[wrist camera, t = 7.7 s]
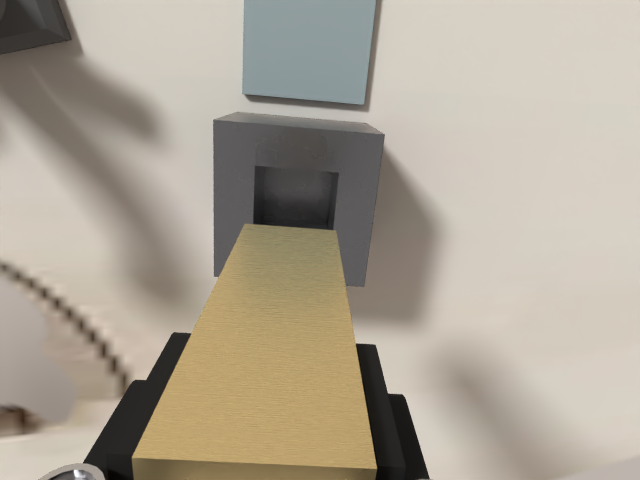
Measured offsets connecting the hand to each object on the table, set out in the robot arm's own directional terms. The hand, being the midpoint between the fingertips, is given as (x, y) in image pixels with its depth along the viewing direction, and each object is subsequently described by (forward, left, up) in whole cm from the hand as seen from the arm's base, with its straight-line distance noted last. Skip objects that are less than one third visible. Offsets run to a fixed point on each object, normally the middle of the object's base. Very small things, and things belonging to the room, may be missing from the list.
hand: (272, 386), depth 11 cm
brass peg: (0, 0, -8) cm, 8 cm away
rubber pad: (0, -12, -27) cm, 29 cm away
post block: (0, 0, -27) cm, 27 cm away
